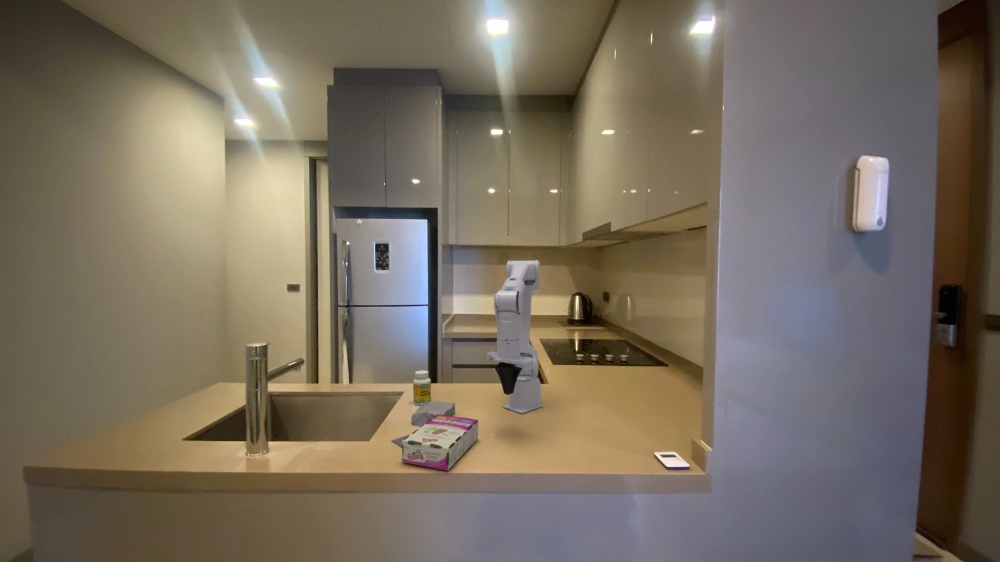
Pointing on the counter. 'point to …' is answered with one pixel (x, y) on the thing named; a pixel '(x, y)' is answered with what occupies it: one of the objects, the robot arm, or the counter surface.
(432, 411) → the stone block
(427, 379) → the supplement bottle
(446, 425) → the candy bar box
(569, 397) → the counter surface
